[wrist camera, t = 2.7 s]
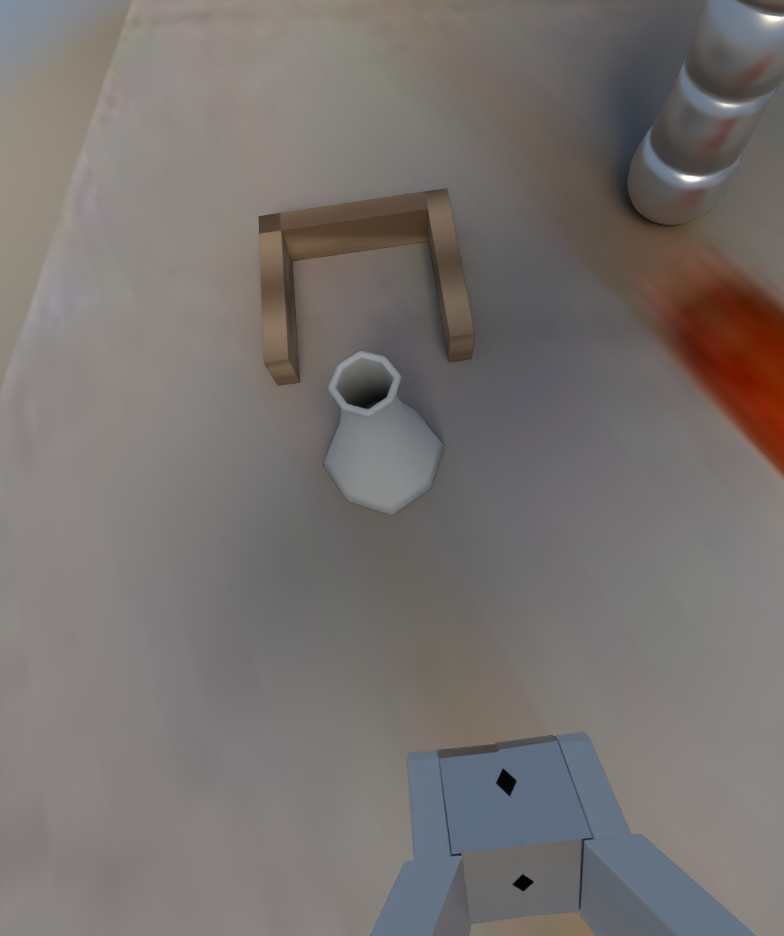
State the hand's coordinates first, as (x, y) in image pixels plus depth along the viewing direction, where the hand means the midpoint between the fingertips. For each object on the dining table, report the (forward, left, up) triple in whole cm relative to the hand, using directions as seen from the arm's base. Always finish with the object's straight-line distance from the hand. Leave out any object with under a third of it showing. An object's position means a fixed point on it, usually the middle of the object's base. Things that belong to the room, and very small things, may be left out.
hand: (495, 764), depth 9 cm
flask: (-9, -10, -21) cm, 25 cm away
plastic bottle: (-36, -3, -21) cm, 42 cm away
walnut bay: (-18, -17, -21) cm, 32 cm away
